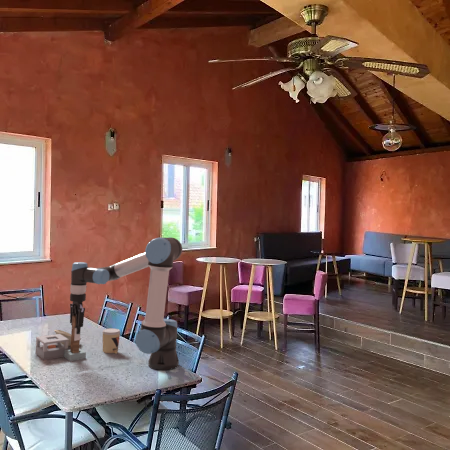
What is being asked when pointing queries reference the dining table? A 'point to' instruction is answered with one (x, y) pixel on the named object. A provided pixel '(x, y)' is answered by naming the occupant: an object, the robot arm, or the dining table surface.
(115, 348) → the coffee cup
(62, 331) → the bowl
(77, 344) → the brown wooden bar
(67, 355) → the holder
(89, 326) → the dining table surface
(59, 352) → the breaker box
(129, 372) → the dining table surface
